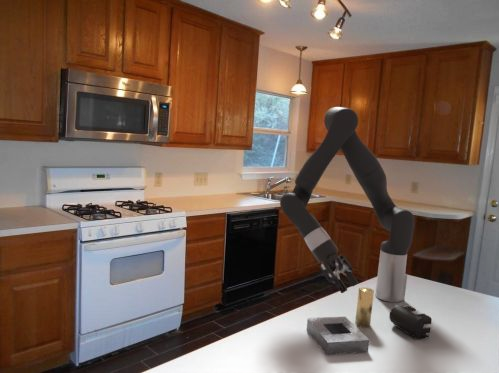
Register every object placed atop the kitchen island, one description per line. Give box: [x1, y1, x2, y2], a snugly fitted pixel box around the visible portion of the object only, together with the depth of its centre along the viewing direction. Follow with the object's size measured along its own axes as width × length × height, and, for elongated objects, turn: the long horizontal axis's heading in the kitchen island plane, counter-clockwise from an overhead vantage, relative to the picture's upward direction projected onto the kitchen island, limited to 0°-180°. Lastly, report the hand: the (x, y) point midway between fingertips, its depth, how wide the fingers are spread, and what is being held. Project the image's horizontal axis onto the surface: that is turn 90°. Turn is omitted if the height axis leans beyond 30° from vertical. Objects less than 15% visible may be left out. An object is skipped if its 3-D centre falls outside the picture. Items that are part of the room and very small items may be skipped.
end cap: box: [388, 304, 432, 340], centre depth 122 cm, size 10×7×7 cm
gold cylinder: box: [355, 286, 375, 329], centre depth 124 cm, size 4×4×11 cm
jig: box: [306, 316, 370, 356], centre depth 113 cm, size 12×14×4 cm
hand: (350, 288), depth 127 cm, fingers open, 8 cm apart
